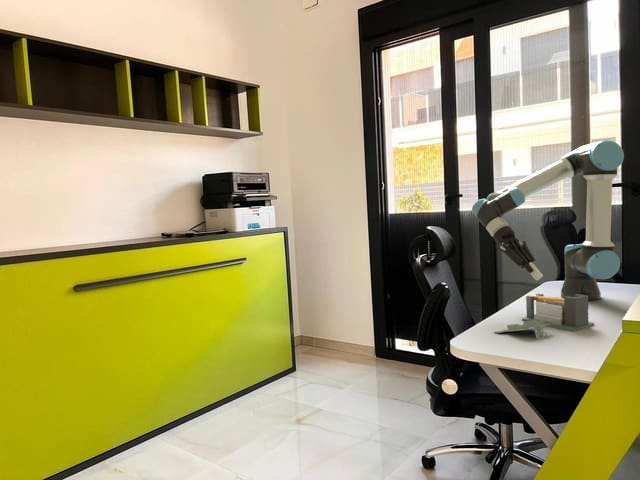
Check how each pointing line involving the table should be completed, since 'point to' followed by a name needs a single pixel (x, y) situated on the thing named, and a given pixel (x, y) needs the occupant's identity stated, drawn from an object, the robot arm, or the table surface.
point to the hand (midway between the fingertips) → (539, 278)
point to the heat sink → (546, 310)
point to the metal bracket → (528, 327)
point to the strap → (548, 298)
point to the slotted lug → (576, 310)
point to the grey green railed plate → (561, 325)
